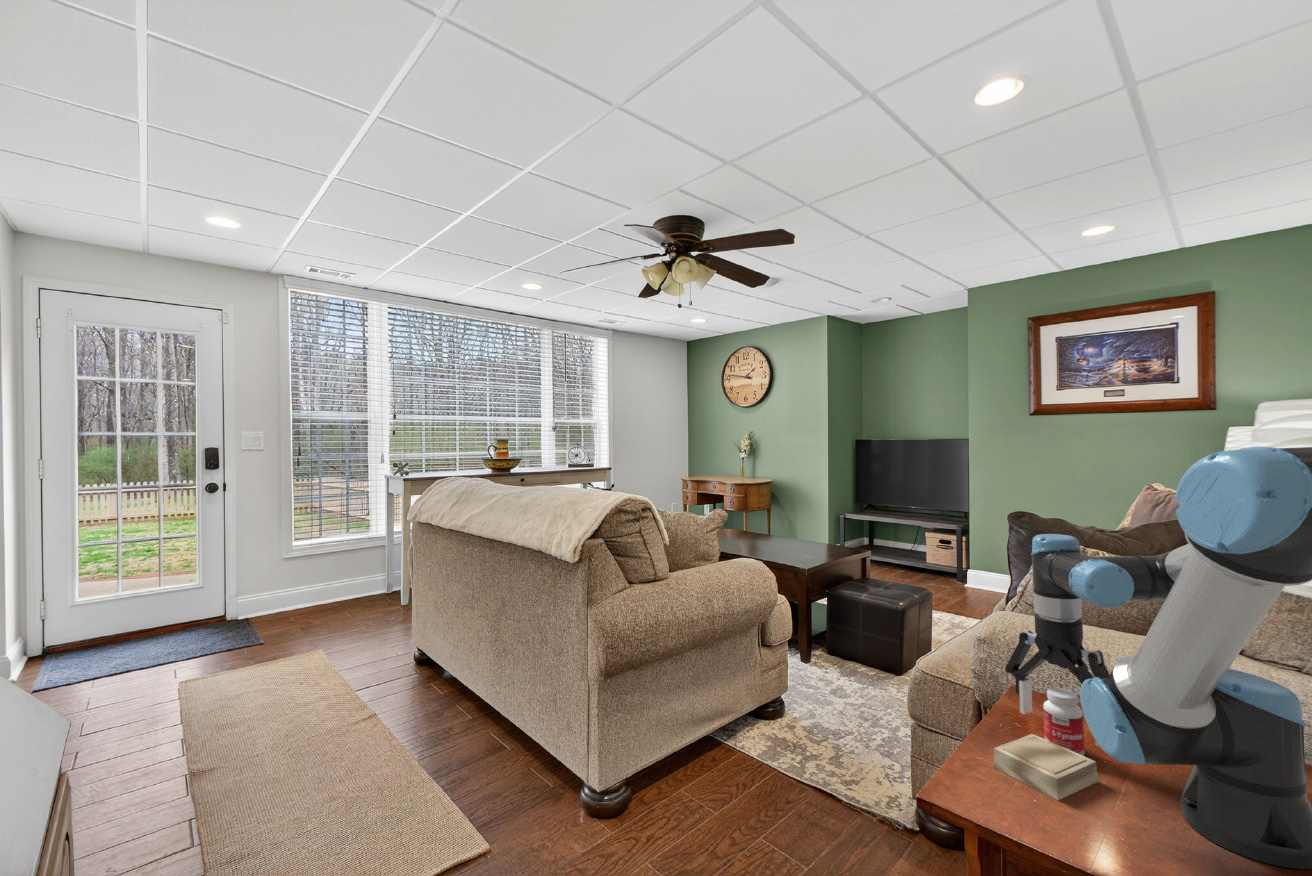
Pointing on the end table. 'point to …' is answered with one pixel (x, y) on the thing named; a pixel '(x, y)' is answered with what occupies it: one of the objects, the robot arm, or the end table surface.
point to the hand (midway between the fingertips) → (1062, 727)
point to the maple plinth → (1045, 766)
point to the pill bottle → (1063, 720)
